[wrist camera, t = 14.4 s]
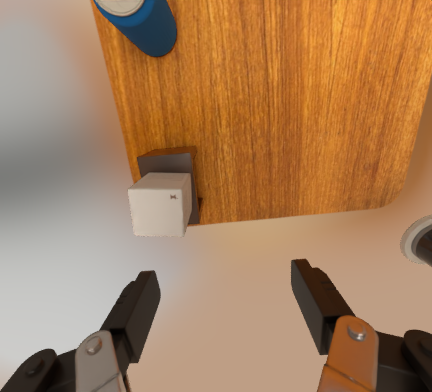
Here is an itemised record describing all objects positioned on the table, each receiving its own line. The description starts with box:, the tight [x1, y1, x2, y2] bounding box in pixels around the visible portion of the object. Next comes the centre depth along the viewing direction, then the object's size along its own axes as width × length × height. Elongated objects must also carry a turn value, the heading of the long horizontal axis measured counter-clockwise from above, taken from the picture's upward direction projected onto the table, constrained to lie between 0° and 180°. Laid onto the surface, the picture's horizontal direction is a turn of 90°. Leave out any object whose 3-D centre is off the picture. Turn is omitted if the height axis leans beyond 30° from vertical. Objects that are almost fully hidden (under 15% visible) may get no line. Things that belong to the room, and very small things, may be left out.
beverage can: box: [94, 0, 177, 57], centre depth 24 cm, size 6×6×12 cm
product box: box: [128, 173, 192, 237], centre depth 26 cm, size 6×6×7 cm
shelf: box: [137, 146, 203, 225], centre depth 33 cm, size 8×11×8 cm
